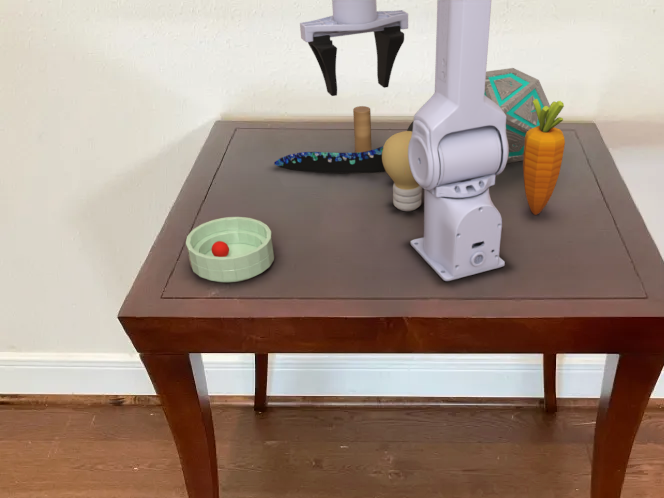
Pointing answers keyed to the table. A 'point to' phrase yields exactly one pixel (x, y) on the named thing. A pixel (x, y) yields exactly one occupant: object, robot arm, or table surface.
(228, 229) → the bowl
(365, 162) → the knife
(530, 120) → the sculpture
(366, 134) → the pestle
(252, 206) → the table surface
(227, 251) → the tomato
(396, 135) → the light bulb
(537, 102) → the carrot
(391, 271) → the table surface
